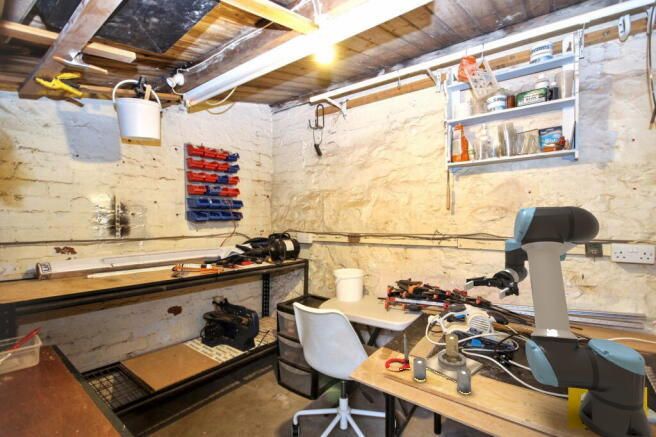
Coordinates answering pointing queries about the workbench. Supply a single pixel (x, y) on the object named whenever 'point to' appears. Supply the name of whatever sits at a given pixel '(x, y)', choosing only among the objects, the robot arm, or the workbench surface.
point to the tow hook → (405, 360)
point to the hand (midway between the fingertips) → (481, 291)
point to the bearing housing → (451, 365)
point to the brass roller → (452, 348)
